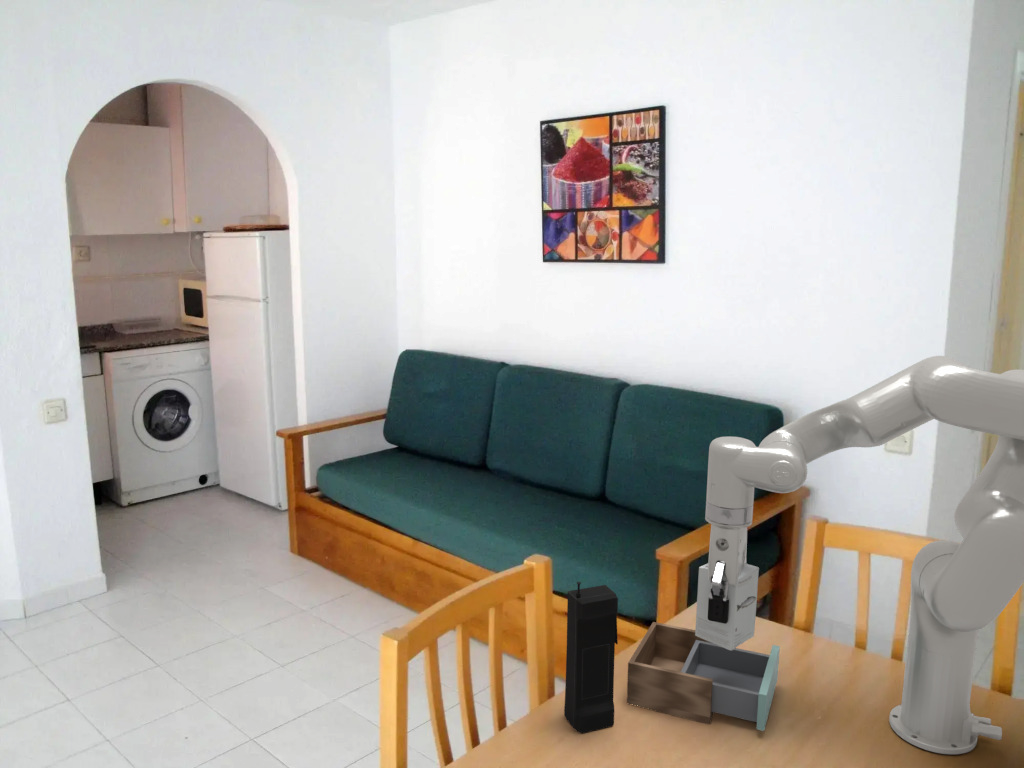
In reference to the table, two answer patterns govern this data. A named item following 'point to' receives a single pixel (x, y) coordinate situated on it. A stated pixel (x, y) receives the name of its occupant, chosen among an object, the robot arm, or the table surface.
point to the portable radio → (590, 658)
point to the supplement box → (739, 609)
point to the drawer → (737, 679)
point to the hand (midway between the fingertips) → (723, 609)
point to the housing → (668, 675)
